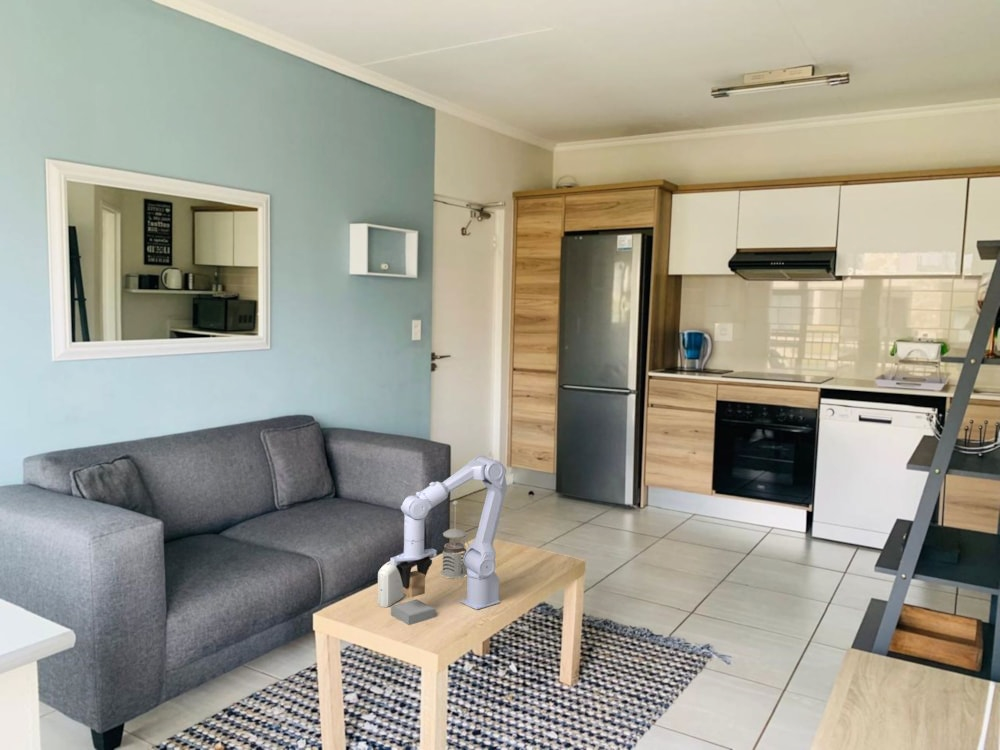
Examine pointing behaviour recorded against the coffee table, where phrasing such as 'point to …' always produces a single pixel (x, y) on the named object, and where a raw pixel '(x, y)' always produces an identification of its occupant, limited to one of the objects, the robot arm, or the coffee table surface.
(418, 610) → the plinth
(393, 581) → the photo printer
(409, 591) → the walnut block
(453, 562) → the french press
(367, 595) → the coffee table surface
